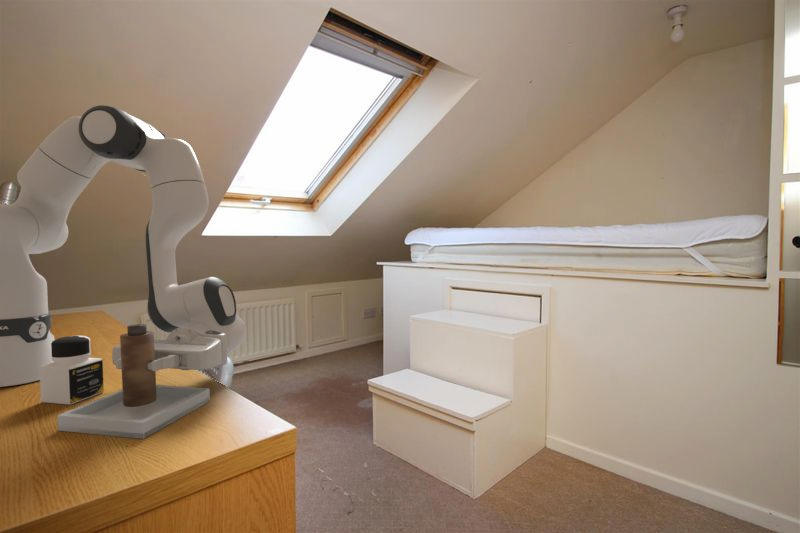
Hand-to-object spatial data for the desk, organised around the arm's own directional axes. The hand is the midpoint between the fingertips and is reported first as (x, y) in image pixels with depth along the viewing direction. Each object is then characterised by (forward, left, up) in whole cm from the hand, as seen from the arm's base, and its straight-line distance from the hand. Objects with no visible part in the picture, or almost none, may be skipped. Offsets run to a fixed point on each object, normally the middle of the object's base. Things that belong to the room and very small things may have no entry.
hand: (134, 365), depth 73 cm
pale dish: (0, +1, -9) cm, 9 cm away
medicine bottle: (-20, +6, -9) cm, 23 cm away
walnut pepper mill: (0, +1, -7) cm, 7 cm away
